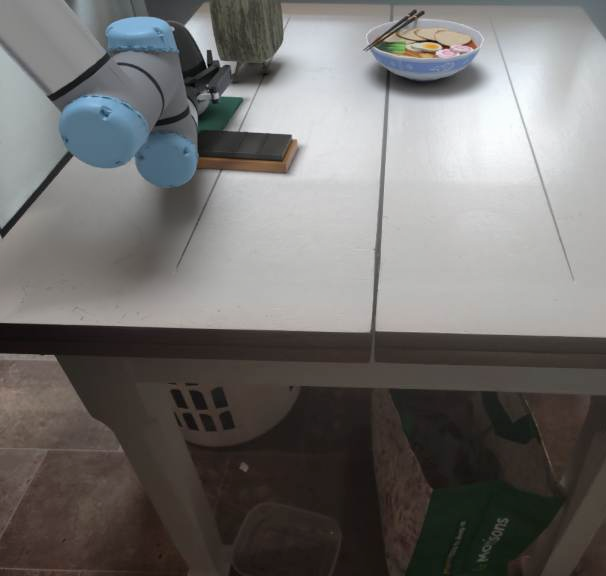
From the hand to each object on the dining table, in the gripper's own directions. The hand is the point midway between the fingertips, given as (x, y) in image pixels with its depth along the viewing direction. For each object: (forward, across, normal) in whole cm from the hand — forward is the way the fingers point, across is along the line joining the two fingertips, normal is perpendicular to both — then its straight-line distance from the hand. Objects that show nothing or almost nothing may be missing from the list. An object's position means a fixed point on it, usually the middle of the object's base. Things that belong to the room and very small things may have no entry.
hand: (175, 60), depth 104 cm
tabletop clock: (+14, +14, -9) cm, 21 cm away
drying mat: (-4, 0, -8) cm, 9 cm away
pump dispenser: (-4, 0, -8) cm, 9 cm away
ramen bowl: (+6, +46, -9) cm, 47 cm away
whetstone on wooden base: (-21, +9, -8) cm, 24 cm away
